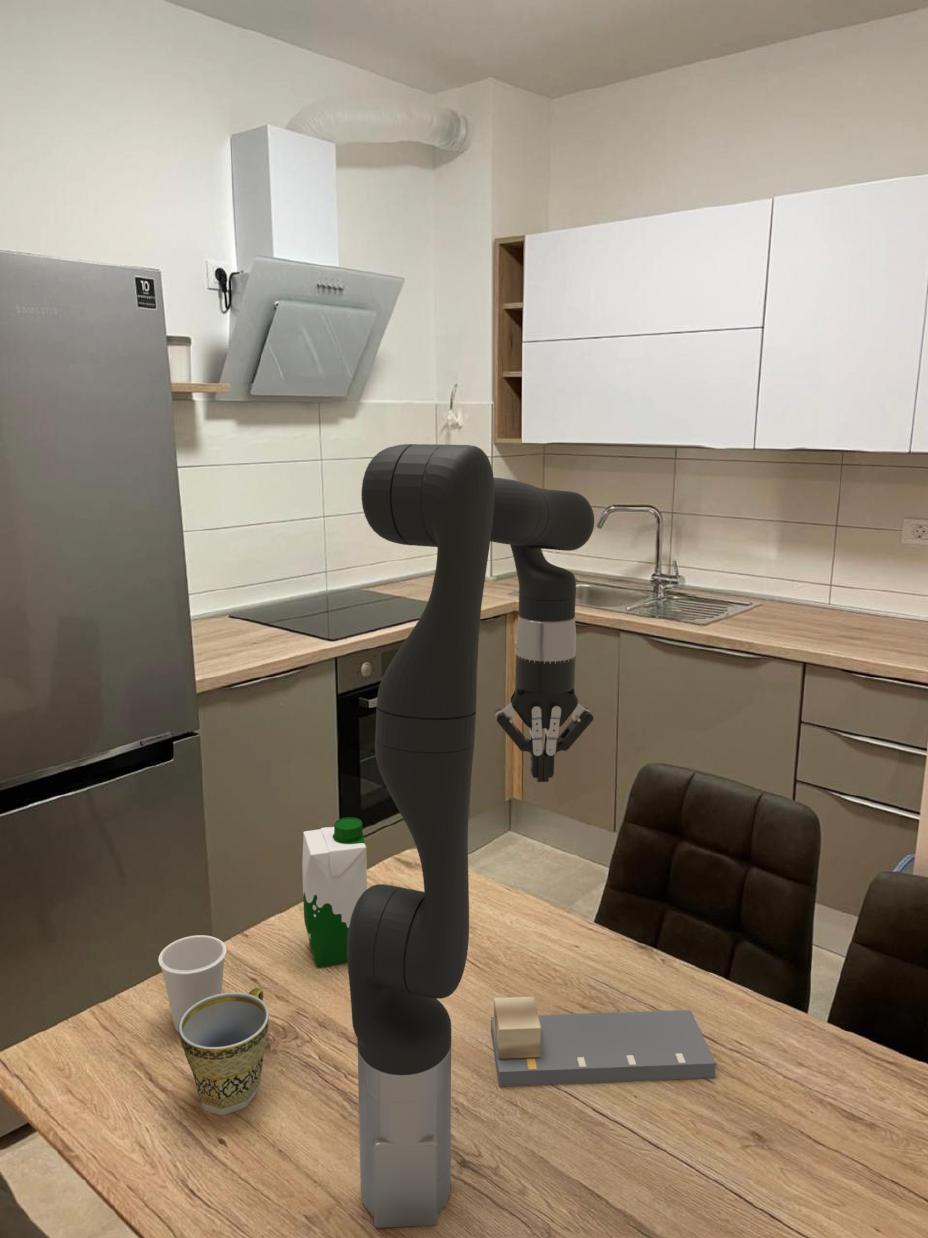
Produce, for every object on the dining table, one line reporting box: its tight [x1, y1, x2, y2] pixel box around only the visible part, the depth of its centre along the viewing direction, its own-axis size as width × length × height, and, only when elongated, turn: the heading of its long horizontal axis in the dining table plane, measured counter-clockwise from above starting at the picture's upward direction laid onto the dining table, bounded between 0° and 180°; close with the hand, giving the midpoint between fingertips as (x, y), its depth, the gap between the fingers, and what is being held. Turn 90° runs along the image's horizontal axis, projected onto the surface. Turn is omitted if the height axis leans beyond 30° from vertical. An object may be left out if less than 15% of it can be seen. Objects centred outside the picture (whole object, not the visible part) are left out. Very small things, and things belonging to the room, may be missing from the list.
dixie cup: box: [158, 934, 228, 1033], centre depth 119 cm, size 8×8×10 cm
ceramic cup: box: [178, 987, 270, 1116], centre depth 108 cm, size 13×10×10 cm
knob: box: [493, 996, 541, 1059], centre depth 113 cm, size 6×5×4 cm
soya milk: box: [301, 816, 368, 969], centre depth 134 cm, size 9×9×20 cm
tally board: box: [490, 1009, 717, 1088], centre depth 115 cm, size 10×26×2 cm, turn 94°
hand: (542, 779), depth 120 cm, fingers closed
